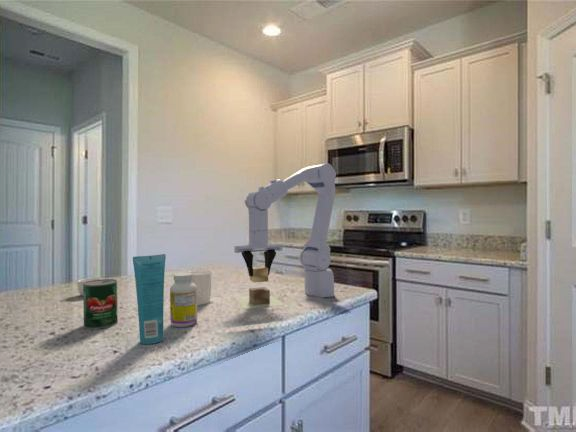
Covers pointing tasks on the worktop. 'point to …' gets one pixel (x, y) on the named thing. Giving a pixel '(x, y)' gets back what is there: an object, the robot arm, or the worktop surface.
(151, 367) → the worktop surface
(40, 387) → the worktop surface
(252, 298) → the walnut block
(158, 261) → the tube
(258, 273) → the oak block
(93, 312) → the canned tomato
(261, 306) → the build board
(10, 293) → the worktop surface
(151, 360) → the worktop surface
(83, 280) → the teacup
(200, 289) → the white cup
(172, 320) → the supplement bottle
